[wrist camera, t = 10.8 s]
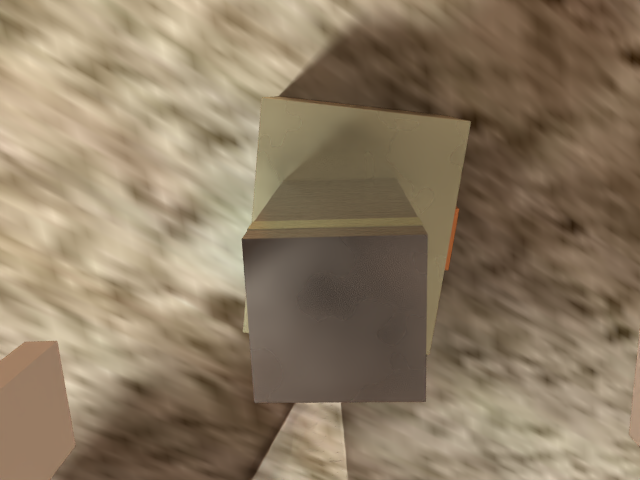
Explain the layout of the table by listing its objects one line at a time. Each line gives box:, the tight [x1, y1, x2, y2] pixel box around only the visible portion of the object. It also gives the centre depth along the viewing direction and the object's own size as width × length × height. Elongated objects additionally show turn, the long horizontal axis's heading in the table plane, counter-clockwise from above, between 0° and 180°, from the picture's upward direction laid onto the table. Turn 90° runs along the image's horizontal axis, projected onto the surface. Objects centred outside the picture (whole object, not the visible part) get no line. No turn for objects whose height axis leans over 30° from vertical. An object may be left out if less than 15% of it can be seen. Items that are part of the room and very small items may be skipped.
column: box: [242, 178, 428, 403], centre depth 20 cm, size 5×5×10 cm
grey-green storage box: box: [243, 96, 471, 355], centre depth 28 cm, size 11×9×6 cm
